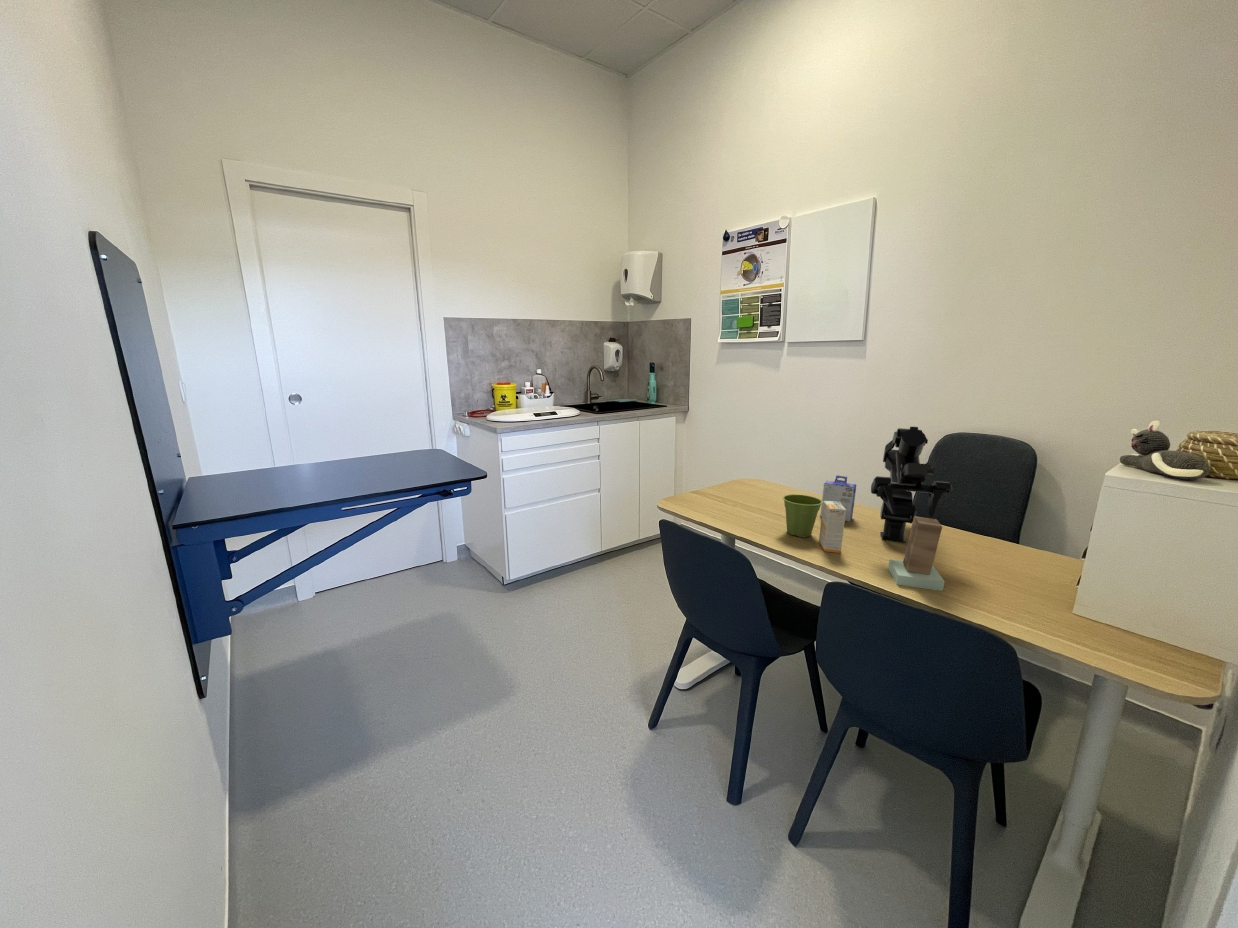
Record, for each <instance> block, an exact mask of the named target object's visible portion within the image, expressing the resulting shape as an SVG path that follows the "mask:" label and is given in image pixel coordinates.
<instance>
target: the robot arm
mask: <svg viewBox="0 0 1238 928" xmlns="http://www.w3.org/2000/svg"><path fill="white" fill-rule="evenodd" d="M928 441H929V439H928V438H927V436H926V435H925V433H924V431H923V430H922V429H919V426H909V428H904V427H903V428H900V427H898V428H897V429H896V431H894V432H893V436H892V440H890V441H889V442H888V443H887V444H886V445H885V447H884V451H883V458H882V462H883V463H884V469H885V470H887V471H889V476H879V475H877V476H875V477H874V478H873V480H872V482H871V485H870V493H871V494H872V495H876V497H880V499H881V500H882V505H881V508H880V514H879V515H880V516H879V517H880V520H882V521H883V520H884V523H883V531H880V532H879V534H880V537H881V540H883V541H889V542H896V543H901V544H902V543H903V544H904V543H905V544H906V543H907V539H906V537H905V532H906V525H907V524H910V525H912V523H913V519H914V516H917V511H918V509H917V507H916V504H915V503H914V500H913V493H912V492H915V493H926V494H928V497H929V498H928V499H927V501H928V512H929V513H928V514H929V518H930V519H934V516H935V513H936V509H937V506H938V504H939V503H941V502H942V501H944V500H945V501H946V500H947V499H948V497H949V496H950V495H951V494H952V492H953V490H954V489H953V484H952V483H951V482H949V481H939V480H934V481H933V483H932V484H931V485H926V484H922V483H925V481H926V477H928V476H933V475H935V474H936V469H937V468H936V462H933V461H932V462H930V461H927V462H926V463H920V462H921V461H920V456H921V455H922V452H923V450H924V447H925V446H926V445H927V444H928ZM894 448H896V449H894ZM897 448H898V449H897Z"/></svg>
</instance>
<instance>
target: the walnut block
mask: <svg viewBox="0 0 1238 928" xmlns="http://www.w3.org/2000/svg"><path fill="white" fill-rule="evenodd" d="M942 530H943V525H942V524H941V523H940V522H939V520H938V519H937V518H930V517H923V516H917V515H915V516H914V519H913V522H912V524H911V528H910V532H909V535H908V536H909V537H908V539H907V545H906V548H905V549H906V550H905V553H904V557H903V560H902V561H903V564H904V566H905V568H906V569H907V571H910V572H915V573H921V574H926V575H930V573H931V569H932V565H933V566H934V560H935V557H936V553H937V549H938V545H939V541H940V537H941V533H942Z"/></svg>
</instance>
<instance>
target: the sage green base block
mask: <svg viewBox="0 0 1238 928" xmlns="http://www.w3.org/2000/svg"><path fill="white" fill-rule="evenodd" d="M888 561H889V562H888V567H887V568H888V570H889V572H890V574H891V576H892V578H893V579H894V582H895V584H896V585H897V586H898V585H899V586H905V587H913V588H919V589H920V588H921V589H927V590H934V591H942V592H943V591H944V587H945V580H944V578H943V577H942V576H941V575H940V573H939V571H938V570H937V569H936V567H935V566H934V564H933V565H932V569H931V573H930V575H926V574H921V573H915V572H910V571H907V569H906V568H905V566H904V564H903V560H899V559H892V558H890V559H889V560H888Z"/></svg>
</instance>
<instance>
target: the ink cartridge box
mask: <svg viewBox="0 0 1238 928" xmlns="http://www.w3.org/2000/svg"><path fill="white" fill-rule="evenodd" d="M842 479H843V480H842ZM847 481H848V476H843V475H838V474H837V475H836V476H835V479H834V481H832V480H826V481H825V482H823V490H822V498H821V500H822V501H836V502H840V503H841V504H842V506H843V507H844V508H845V509H846V515H845V522H851V521H852V519H853V514H854V507H855V500H856V491H857V484H855V483H850V482H847ZM822 510H823V504H821V506H820V514H819V516H820V517H822Z"/></svg>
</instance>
